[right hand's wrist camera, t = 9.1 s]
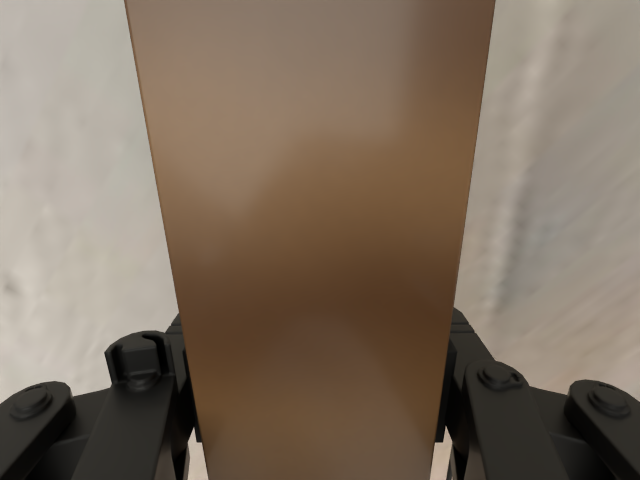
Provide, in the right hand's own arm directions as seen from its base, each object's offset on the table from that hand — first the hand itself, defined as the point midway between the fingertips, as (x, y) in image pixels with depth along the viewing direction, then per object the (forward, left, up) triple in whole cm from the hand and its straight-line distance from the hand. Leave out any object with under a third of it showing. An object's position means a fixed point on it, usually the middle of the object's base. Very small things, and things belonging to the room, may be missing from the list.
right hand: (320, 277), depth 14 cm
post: (+23, -10, 0) cm, 26 cm away
